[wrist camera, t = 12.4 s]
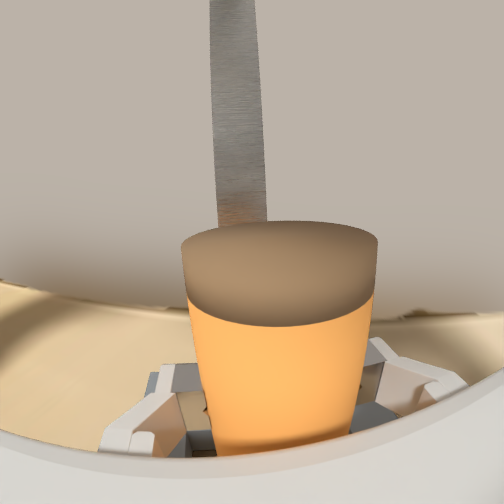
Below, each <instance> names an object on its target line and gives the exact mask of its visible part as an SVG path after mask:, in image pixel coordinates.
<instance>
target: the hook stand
mask: <svg viewBox="0 0 504 504" xmlns="http://www.w3.org/2000/svg"><path fill="white" fill-rule="evenodd" d="M254 2H255V1H254V0H210V66H211V97H212V122H213V123H212V124H213V146H214V165H215V182H216V198H217V212H218V226H219V227H224V226H230V225H236V224H244V223H253V222H266V221H267V207H266V184H265V164H264V142H263V125H262V106H261V89H260V73H259V58H258V42H257V28H256V15H255V3H254Z"/></svg>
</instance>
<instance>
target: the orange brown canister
mask: <svg viewBox="0 0 504 504" xmlns="http://www.w3.org/2000/svg"><path fill="white" fill-rule="evenodd" d="M377 246H378V241H377V238H376V237H375V236H374V235H372V234H371V233H369V232H367V231H364V230H362V229H359V228H355V227H351V226H347V225H341V224H334V223H326V222H313V221H266V222H253V223H244V224H236V225H230V226H224V227H219V228H215V229H211V230H207V231H204V232H201V233H198V234H196V235H193V236H191V237H189V238H188V239H186V240H185V241H184V242H183V243H182V245H181V252H182V261H183V269H184V277H185V285H186V292H187V299H188V307H189V313H190V320H191V326H192V333H193V339H194V345H195V351H196V356H197V362H198V367H199V373H200V378H201V382H202V386H203V389H204V394H205V399H206V403H207V406H206V407H207V410H208V413H209V418H210V422H211V431H212V435H213V439H214V443H215V448H216V452H217V456H218V457H219V456H232V455H243V454H252V453H260V452H267V451H274V450H280V449H286V448H292V447H297V446H302V445H307V444H312V443H317V442H321V441H325V440H330V439H334V438H338V437H341V436H345V435H348V433H349V429H350V425H351V421H352V417H353V413H354V409H355V404H356V400H357V396H358V391H359V386H360V381H361V376H362V371H363V365H364V360H365V354H366V348H367V342H368V335H369V328H370V321H371V313H372V305H373V295H374V286H375V274H376V262H377Z"/></svg>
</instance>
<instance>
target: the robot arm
mask: <svg viewBox="0 0 504 504" xmlns="http://www.w3.org/2000/svg"><path fill="white" fill-rule="evenodd" d="M372 401H375V402H377V403H378V404H380V405H382V406H384V407H385V408H387V409H389V410H391V411H393V412H395V413H396V414H398V415H400V416H402V417H401V418H399V419H396V420H393V421H390V422H387V423H384V424H382V425H379V426H376V427H372V428H369V429H366V430H363V431H359V432H356V433H352V434H349V435H345V436H341V437H338V438H334V439H330V440H325V441H321V442H317V443H312V444H307V445H302V446H297V447H292V448H286V449H280V450H274V451H267V452H260V453H252V454H243V455H232V456H219V457H199V458H167V456H168V455H169V454H170V453H171V451H172V450H173V449H174V448H175V446H176V445H177V444H178V443H179V441H180V440H181V439H182V437H183V436H184V435H185V434H186V432H187V431H190V430H206V429H211V422H210V418H209V413H208V410H207V407H206V406H207V403H206V399H205V394H204V389H203V386H202V382H201V378H200V373H199V367H198V363H183V364H162V365H161V367H160V371H159V375H158V380H157V384H156V389H155V393H150V394H149V395H147V396H146V397H145V398H144V399H142V400H141V401H140V402H138V403H137V404H136V405H135V406H133V407H132V408H131V409H129V410H128V411H127V412H126V413H124V414H123V415H122V416H120V417H119V418H118V419H116V420H115V421H114V422H112V423H111V424H110V425H108V426H107V427H106V428H105V430H104V433H103V436H102V439H101V442H100V445H99V448H98V452H93V451H87V450H81V449H75V448H70V447H65V446H60V445H55V444H51V443H47V442H43V441H39V440H35V439H31V438H27V437H24V436H20V435H17V434H14V433H11V432H8V431H5V430H2V429H0V504H504V367H503V368H501V369H500V370H498V371H496V372H495V373H493V374H491V375H490V376H488V377H486V378H485V379H483V380H481V381H479V382H477V383H476V384H474V385H472V386H469V385H468V384H467V383H466V382H465V381H464V380H463V379H462V378H461V377H459V376H458V375H457V374H456V373H455V372H453V371H450V370H446V369H443V368H440V367H436V366H433V365H429V364H426V363H423V362H419V361H416V360H413V359H410V358H406V357H399V356H398V355H397V354H396V353H395V352H394V351H393V350H392V349H391V348H390V347H389V346H388V345H387V344H386V343H385V342H384V341H383V340H382V339H381V338H380V337H374V338H370V339H368V342H367V348H366V354H365V360H364V365H363V371H362V376H361V381H360V386H359V391H358V396H357V400H356V404H355V406H356V405H360V404H364V403H368V402H372Z"/></svg>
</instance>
